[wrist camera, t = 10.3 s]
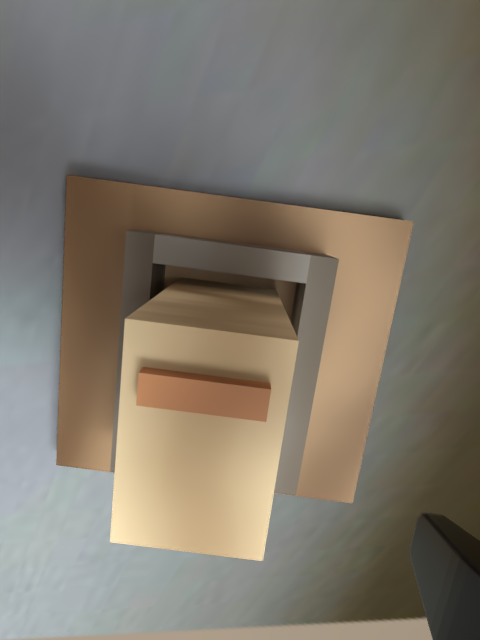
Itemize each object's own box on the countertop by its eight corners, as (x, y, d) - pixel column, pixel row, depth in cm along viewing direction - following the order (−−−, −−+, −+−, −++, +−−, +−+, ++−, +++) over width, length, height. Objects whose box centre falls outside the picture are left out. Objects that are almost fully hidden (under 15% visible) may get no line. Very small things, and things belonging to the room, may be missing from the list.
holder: (65, 453, 20) (28, 499, 17) (76, 177, 17) (34, 165, 14) (347, 489, 20) (367, 542, 17) (404, 221, 17) (442, 220, 14)
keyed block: (168, 409, 18) (104, 553, 10) (181, 277, 17) (119, 322, 9) (256, 420, 18) (263, 573, 10) (276, 289, 17) (301, 346, 9)
